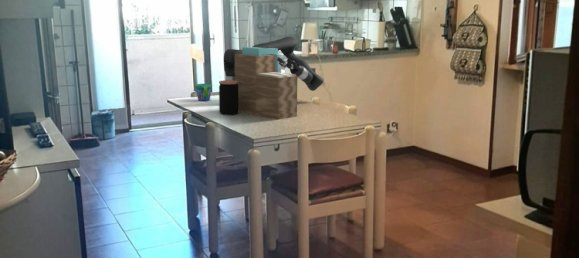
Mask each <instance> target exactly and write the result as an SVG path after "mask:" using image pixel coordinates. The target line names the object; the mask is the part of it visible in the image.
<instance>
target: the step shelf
mask: <svg viewBox="0 0 579 258" xmlns="http://www.w3.org/2000/svg"><path fill="white" fill-rule="evenodd" d="M275 57H276V54H273V55H266V56H254V55H244V54H235V81H238V96H239V112H240V113H243V114H244V113H245V114H250V115H254V116H260V117H263V118H264V117H265V118H269V119H273V120H284V119H291V118H295V117H298V78H297V76H296V75H295V74H292V73H285V72H278V71H277V72H276V69H275V68H276V67H275V65H276V64H275V63H276V62H275Z"/></svg>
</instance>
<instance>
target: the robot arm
mask: <svg viewBox="0 0 579 258" xmlns="http://www.w3.org/2000/svg"><path fill="white" fill-rule="evenodd" d="M297 44H298V41H297V39H296V38H295V37H293V36H285V37H283V38H278V39H276V40H271V41H267V42H262V43H257V44H253V45H252V46H251V47H257V48H266V49H267V48H277V49H278V52H279V51H280V52H281V53H282V55H283V56H284V57H285V58H286V60H284V59H282V58H281V57H279V56H278V57H277V59H276V62H277V61H278V65H280V66H281V67H282V68H284V69H286V68H287V69H288V70H289V73H290V74H295V75H296V76H297V79H299V80H301V81H302V82H303V83H304V84H305V85H306V87H307V88H308V90H309V91H312V92H313V91H317V89H318V88H319V87H320V86H322V85H323V84H324V78H322V76H321V75H319V74H317V73H316V72H315V71H314V70H313V69H312V68H311V67H310V65H309V63H308V62H306V61H305V60H303V59H300V58H299V57H297V55H296V54H295V53H294V51H295V49H296V48H297ZM235 54H242V49H236V48H235V49H234V48H228V49H226V50H225V51H224V53H223V70H224V72H225V80H234V81H235ZM267 55H274V54H267Z"/></svg>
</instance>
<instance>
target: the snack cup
mask: <svg viewBox="0 0 579 258" xmlns="http://www.w3.org/2000/svg"><path fill="white" fill-rule="evenodd" d="M194 87H195V91H196V96H197V100H198V101H199V102H208V101H210V100H211V94H212V88H213V84H211V83H196V84H195V85H194Z"/></svg>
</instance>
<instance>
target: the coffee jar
mask: <svg viewBox="0 0 579 258" xmlns="http://www.w3.org/2000/svg"><path fill="white" fill-rule="evenodd" d="M218 82H219V85H218V94H219V95H218V97H219V99H218V101H219V107H218V108H219V109H218V110H219V114H220V115H222V116H235V115H238V114H239V112H240V111H239V96H238V81H234V80H226V79H225V80H219V81H218Z"/></svg>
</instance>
